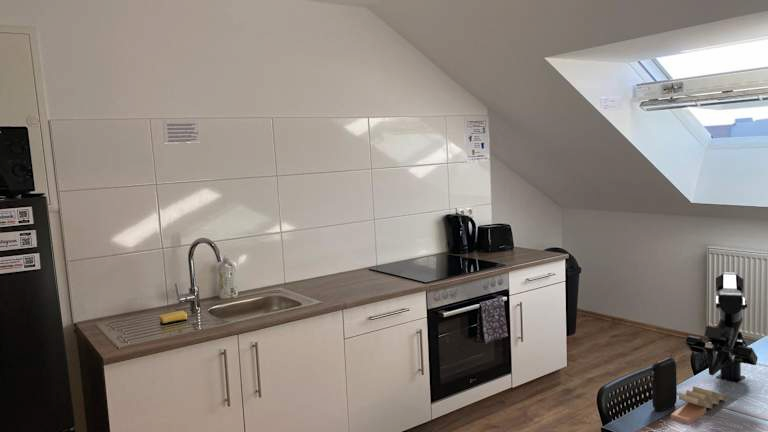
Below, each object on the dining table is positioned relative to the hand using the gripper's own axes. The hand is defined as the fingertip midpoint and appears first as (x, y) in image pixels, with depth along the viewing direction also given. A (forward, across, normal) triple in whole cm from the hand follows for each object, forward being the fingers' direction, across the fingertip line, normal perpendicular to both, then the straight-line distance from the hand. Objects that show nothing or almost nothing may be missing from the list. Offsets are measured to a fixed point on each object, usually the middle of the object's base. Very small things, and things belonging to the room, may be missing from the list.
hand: (710, 374), depth 175 cm
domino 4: (+3, 0, +8) cm, 8 cm away
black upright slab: (+16, -7, -3) cm, 18 cm away
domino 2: (+11, 0, -1) cm, 11 cm away
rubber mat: (+7, 0, +5) cm, 9 cm away
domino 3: (+6, 0, +5) cm, 8 cm away
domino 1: (+9, 0, +2) cm, 9 cm away
